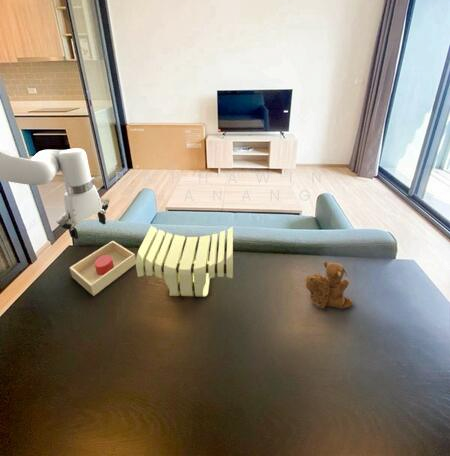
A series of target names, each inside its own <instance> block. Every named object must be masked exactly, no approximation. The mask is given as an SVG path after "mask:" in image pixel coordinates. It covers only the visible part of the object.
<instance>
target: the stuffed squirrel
mask: <svg viewBox="0 0 450 456" xmlns="http://www.w3.org/2000/svg"><path fill="white" fill-rule="evenodd" d="M322 263H323V266H324V268H325V276H323V275H322V274H320V273H315V274H314V275H313V274H311V275H306V278H305V279H304V281H305V287H306V289H307V290H308V291H309V293H310V294H309V296H310V299H311V301H312V302H313V304H314V305H315V306H316V307H317V308H318V309H325V307H332V308H335V309H341V310H342V309H346V308H349V307H351V306H352V305H353V300H352V299H351V298H350V297H347V296H344V292H345V290H346V289H348V286H349V285H350V282H349V279H347V278H343V277H344V275H345V276H346V277H349V275H348V273H347V271H346V270H345V268H344V266H343V265H342V264H341V263H339V262H328V261H327V260H324V261H323V262H322Z"/></svg>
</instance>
